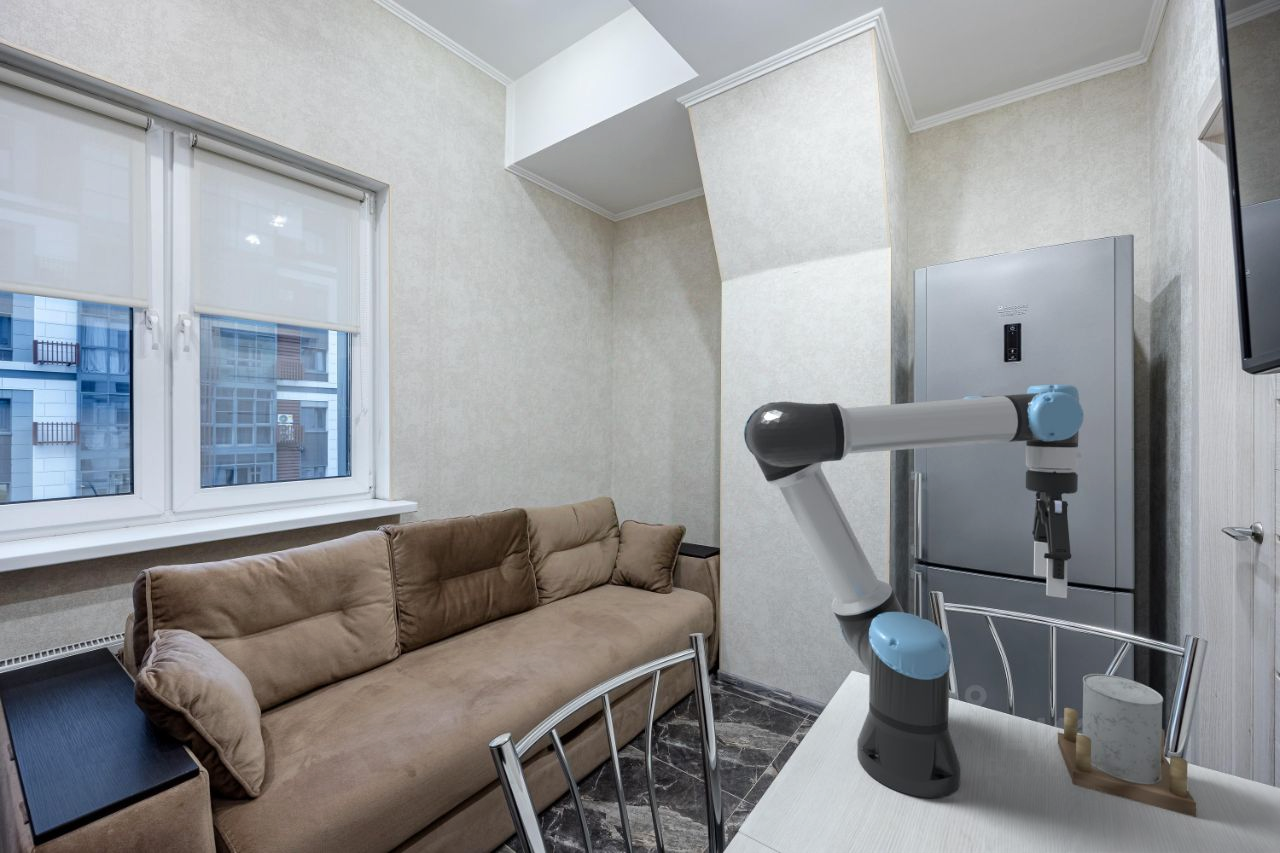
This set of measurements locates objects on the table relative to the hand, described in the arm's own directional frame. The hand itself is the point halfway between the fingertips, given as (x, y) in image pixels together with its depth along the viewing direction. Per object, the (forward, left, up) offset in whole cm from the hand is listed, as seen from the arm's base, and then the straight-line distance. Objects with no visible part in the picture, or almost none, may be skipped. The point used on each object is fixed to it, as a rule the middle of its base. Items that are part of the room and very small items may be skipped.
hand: (1049, 585), depth 98 cm
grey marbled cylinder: (+8, -10, -25) cm, 28 cm away
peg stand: (+8, -10, -27) cm, 30 cm away
